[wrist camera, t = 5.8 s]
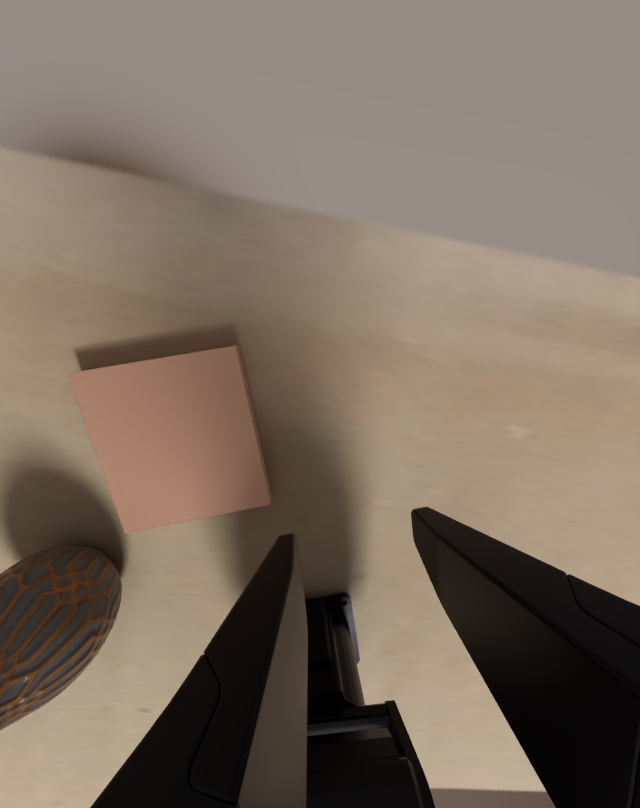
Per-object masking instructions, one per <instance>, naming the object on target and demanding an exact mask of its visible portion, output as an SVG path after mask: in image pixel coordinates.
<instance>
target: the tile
mask: <svg viewBox="0 0 640 808" xmlns="http://www.w3.org/2000/svg"><path fill="white" fill-rule="evenodd" d="M67 377H68V379H69V382H70V385H71V388H72V390H73V393H74V396H75V399H76V401H77V404H78V407H79V409H80V412H81V415H82V418H83V420H84V423H85V426H86V429H87V431H88V434H89V437H90V439H91V442H92V445H93V448H94V450H95V453H96V456H97V459H98V461H99V464H100V467H101V469H102V472H103V475H104V478H105V480H106V483H107V486H108V489H109V491H110V494H111V497H112V499H113V502H114V505H115V508H116V510H117V513H118V516H119V519H120V521H121V524H122V527H123V529H124V532H125V534H126V533H131V532H136V531H141V530H146V529H151V528H156V527H161V526H166V525H171V524H177V523H182V522H187V521H192V520H197V519H202V518H207V517H212V516H217V515H222V514H227V513H232V512H237V511H242V510H247V509H252V508H257V507H263V506H268V505H271V498H272V494H271V489H270V485H269V480H268V476H267V471H266V466H265V462H264V457H263V453H262V448H261V444H260V439H259V435H258V430H257V425H256V421H255V416H254V412H253V407H252V403H251V398H250V394H249V389H248V385H247V380H246V375H245V371H244V366H243V362H242V357H241V353H240V348H239V345H233V346H227V347H221V348H215V349H209V350H203V351H197V352H191V353H185V354H179V355H173V356H167V357H161V358H155V359H148V360H142V361H136V362H130V363H124V364H118V365H112V366H106V367H100V368H94V369H88V370H82V371H77V372H72V373H67Z"/></svg>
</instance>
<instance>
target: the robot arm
mask: <svg viewBox="0 0 640 808" xmlns="http://www.w3.org/2000/svg"><path fill="white" fill-rule="evenodd" d="M411 518H412V529H413V538H414V542H415V545H416V548H417V550H418V552H419V554H420V557H421V559H422V561H423V564H424V566H425V568H426V571H427V573H428V575H429V577H430V580H431V582H432V584H433V587H434V589H435V591H436V593H437V596H438V598H439V600H440V602H441V604H442V606H443V608H444V610H445V612H446V614H447V615H448V617H449V619H450V621H451V622H452V624H453V626H454V628H455V629H456V631H457V633H458V635H459V637H460V638H461V640H462V642H463V644H464V645H465V647H466V649H467V651H468V653H469V654H470V656H471V658H472V660H473V661H474V663H475V665H476V667H477V669H478V670H479V672H480V674H481V676H482V677H483V679H484V681H485V683H486V685H487V686H488V688H489V690H490V692H491V693H492V695H493V697H494V699H495V700H496V702H497V704H498V706H499V708H500V709H501V711H502V713H503V715H504V716H505V718H506V720H507V722H508V724H509V725H510V727H511V729H512V731H513V732H514V734H515V736H516V738H517V740H518V741H519V743H520V745H521V747H522V748H523V750H524V752H525V754H526V756H527V757H528V759H529V761H530V763H531V764H532V766H533V768H534V770H535V771H536V773H537V775H538V777H539V779H540V780H541V782H542V784H543V786H544V787H545V789H546V791H547V793H548V795H549V796H550V798H551V800H552V801H553V803H554V805H555V807H556V808H640V606H639V605H636V604H634V603H631V602H629V601H627V600H624V599H622V598H620V597H618V596H616V595H613V594H611V593H609V592H607V591H605V590H602V589H600V588H598V587H596V586H594V585H591V584H589V583H587V582H585V581H583V580H581V579H579V578H577V577H575V576H572V575H570V574H568V575H566V573H565V572H564V571H562V570H559V569H557V568H555V567H553V566H551V565H549V564H547V563H545V562H543V561H540V560H538V559H536V558H534V557H532V556H530V555H528V554H526V553H524V552H521V551H519V550H517V549H515V548H513V547H511V546H509V545H507V544H505V543H502V542H500V541H498V540H496V539H494V538H492V537H490V536H488V535H486V534H483V533H481V532H479V531H477V530H475V529H473V528H471V527H469V526H467V525H464V524H462V523H460V522H458V521H456V520H454V519H452V518H450V517H448V516H445V515H443V514H441V513H439V512H437V511H435V510H433V509H431V508H428V507H422V508H417V509H413V510H412V512H411ZM343 600H345V601H343ZM359 660H360V658H359V651H358V645H357V639H356V632H355V626H354V620H353V613H352V607H351V601H350V597H349V595H348V594H346V593H340V594H335V595H331V596H326V597H321V598H316V599H312V600H307V601H305V596H304V586H303V576H302V566H301V560H300V555H299V550H298V545H297V540H296V536H295V534H293V533H292V534H287V535H282V536H279V537H278V538H277V540H276V542H275V543H274V545H273V546H272V548H271V549H270V551H269V552H268V554H267V555H266V557H265V558H264V560H263V561H262V563H261V565H260V566H259V568H258V569H257V571H256V572H255V574H254V575H253V577H252V578H251V580H250V581H249V583H248V585H247V586H246V588H245V589H244V591H243V592H242V594H241V595H240V597H239V598H238V600H237V601H236V603H235V605H234V606H233V608H232V609H231V611H230V612H229V614H228V615H227V617H226V618H225V620H224V621H223V623H222V624H221V626H220V628H219V629H218V631H217V632H216V634H215V635H214V637H213V638H212V640H211V641H210V643H209V644H208V646H207V648H206V649H205V651H204V655H201V656H200V658H199V660H198V661H197V663H196V664H195V666H194V667H193V669H192V670H191V672H190V673H189V675H188V676H187V678H186V679H185V681H184V682H183V684H182V685H181V687H180V688H179V690H178V691H177V692H176V694H175V695H174V697H173V698H172V700H171V701H170V703H169V704H168V706H167V707H166V708H165V710H164V711H163V712H162V714H161V715H160V716H159V718H158V719H157V720H156V722H155V723H154V724H153V726H152V727H151V729H150V730H149V731H148V733H147V734H146V735H145V737H144V738H143V739H142V741H141V742H140V743H139V745H138V746H137V747H136V749H135V750H134V751H133V753H132V754H131V755H130V756H129V758H128V759H127V760H126V762H125V763H124V764H123V766H122V767H121V768H120V770H119V771H118V772H117V773H116V775H115V776H114V777H113V779H112V780H111V781H110V783H109V784H108V785H107V787H106V788H105V789H104V790H103V792H102V793H101V794H100V796H99V797H98V798H97V800H96V801H95V802H94V804H93V805H92V806H91V807H90V808H435V806H434V802H433V798H432V795H431V792H430V788H429V785H428V782H427V779H426V777H425V774H424V771H423V769H422V767H421V764H420V762H419V759H418V757H417V754H416V752H415V749H414V747H413V745H412V742H411V740H410V737H409V735H408V732H407V730H406V728H405V725H404V723H403V720H402V718H401V715H400V713H399V710H398V708H397V706H396V703H395V701H394V700H391V701H385V703H383V704H373V705H365V702H364V697H363V693H362V688H361V683H360V678H359V673H358V668H357V663H358V662H359Z"/></svg>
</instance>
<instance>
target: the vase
mask: <svg viewBox="0 0 640 808" xmlns="http://www.w3.org/2000/svg"><path fill="white" fill-rule="evenodd" d="M121 592H122V585H121V580H120V576H119V573H118V570H117V568H116V567H115V565H114V564H113V562H112V561H111V560H110V559H109V558H108V557H107V556H106V555H104V554H103V553H101V552H100V551H98V550H95V549H92V548H89V547H83V546H61V547H54V548H50V549H47V550H44V551H41V552H38V553H36V554H34V555H31V556H29V557H27V558H25V559H23V560H21V561H20V562H18V563H16V564H14V565H13V566H11V567H9V568H8V569H7V570H5V571H4V572H3V573H1V574H0V730H2V729H3V728H5V727H7V726H9V725H10V724H12V723H14V722H16V721H18V720H19V719H21V718H23V717H25V716H26V715H28V714H30V713H32V712H33V711H35V710H37V709H39V708H40V707H42V706H43V705H45V704H47V703H48V702H49V701H51V700H52V699H54V698H55V697H56V696H58V695H59V694H60V693H61V692H62V691H64V690H65V689H66V688H67V687H68V686H69V685H70V684H71V683H72V682H73V681H74V680H75V679H76V678H77V677H78V676H79V675H80V674H81V673H82V672H83V671H84V670H85V668H86V667H87V666H88V665H89V664H90V663H91V661H92V660H93V659H94V657H95V656H96V655H97V653H98V652H99V650H100V649H101V647H102V645H103V644H104V642H105V640H106V638H107V637H108V635H109V633H110V631H111V629H112V627H113V624H114V622H115V620H116V617H117V614H118V611H119V606H120V602H121Z"/></svg>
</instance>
